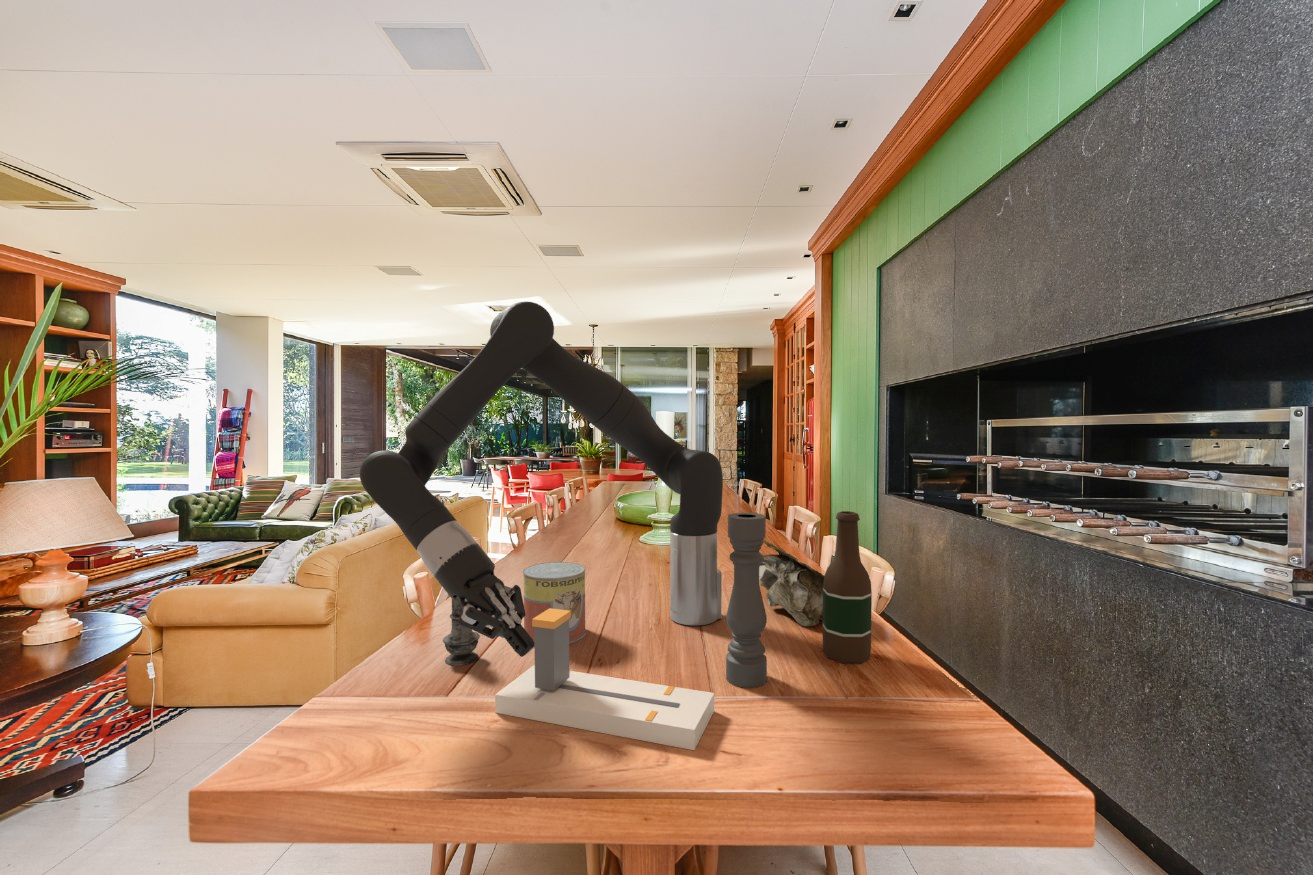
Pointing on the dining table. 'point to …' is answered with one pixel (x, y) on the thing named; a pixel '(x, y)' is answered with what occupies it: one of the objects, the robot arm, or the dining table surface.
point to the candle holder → (746, 602)
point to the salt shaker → (460, 639)
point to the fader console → (612, 707)
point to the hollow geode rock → (792, 586)
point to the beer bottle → (847, 597)
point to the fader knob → (551, 648)
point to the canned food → (555, 594)
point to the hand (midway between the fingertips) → (529, 651)
